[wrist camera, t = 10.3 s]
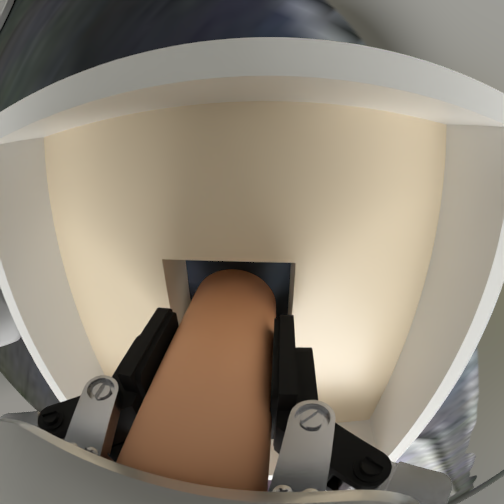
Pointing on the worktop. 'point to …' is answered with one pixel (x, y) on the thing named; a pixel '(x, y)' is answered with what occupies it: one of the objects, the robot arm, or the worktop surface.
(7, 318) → the flask
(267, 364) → the peg
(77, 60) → the worktop surface
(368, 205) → the box
